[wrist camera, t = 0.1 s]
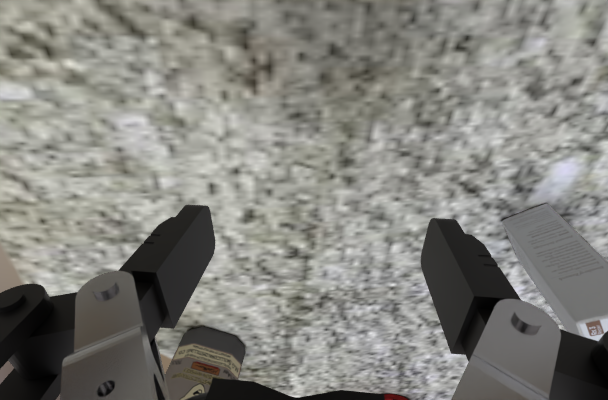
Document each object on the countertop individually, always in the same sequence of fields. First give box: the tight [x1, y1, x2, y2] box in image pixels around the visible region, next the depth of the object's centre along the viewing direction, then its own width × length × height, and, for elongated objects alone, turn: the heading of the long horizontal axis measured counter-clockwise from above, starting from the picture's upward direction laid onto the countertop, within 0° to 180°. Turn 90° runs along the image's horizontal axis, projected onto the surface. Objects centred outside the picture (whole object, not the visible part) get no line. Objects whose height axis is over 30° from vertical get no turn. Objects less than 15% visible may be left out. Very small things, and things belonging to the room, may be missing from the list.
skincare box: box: [502, 204, 608, 341], centre depth 25 cm, size 6×4×12 cm
